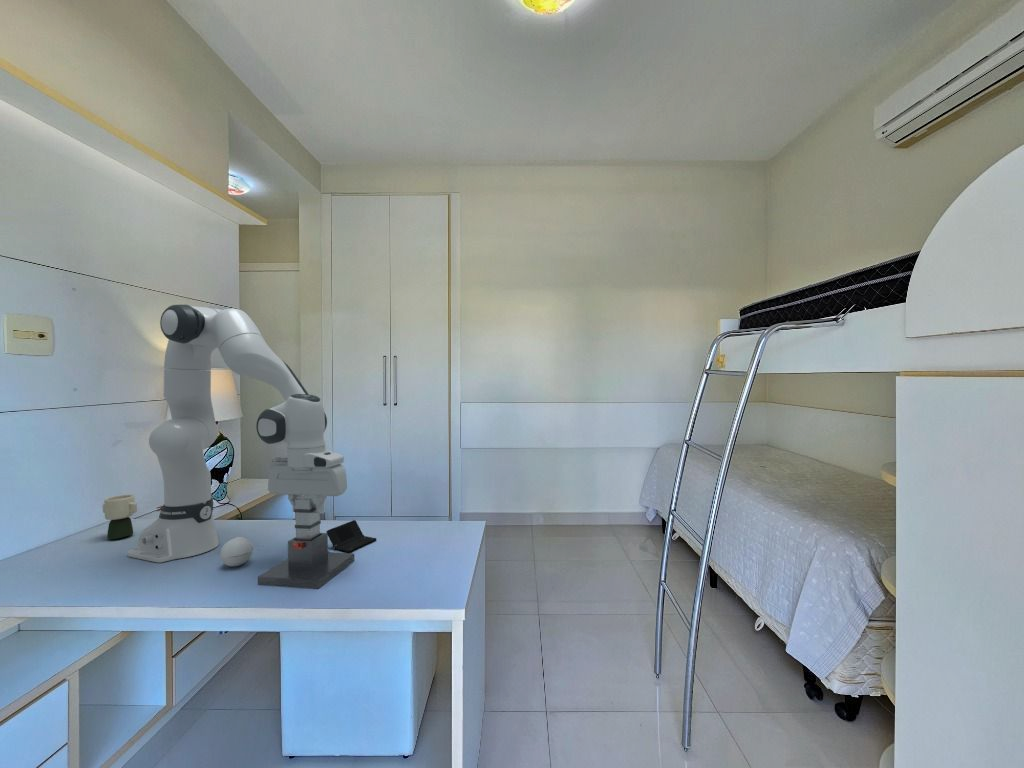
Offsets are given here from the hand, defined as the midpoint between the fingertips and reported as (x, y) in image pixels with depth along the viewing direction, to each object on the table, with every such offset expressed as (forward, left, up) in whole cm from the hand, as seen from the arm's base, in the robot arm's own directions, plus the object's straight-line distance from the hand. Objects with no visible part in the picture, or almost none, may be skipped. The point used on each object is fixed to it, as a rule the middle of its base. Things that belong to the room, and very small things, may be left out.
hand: (307, 511), depth 111 cm
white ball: (-21, +2, -16) cm, 26 cm away
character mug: (-77, +15, -16) cm, 80 cm away
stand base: (0, 0, -15) cm, 15 cm away
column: (0, 0, -12) cm, 12 cm away
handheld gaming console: (+1, +19, -16) cm, 25 cm away
